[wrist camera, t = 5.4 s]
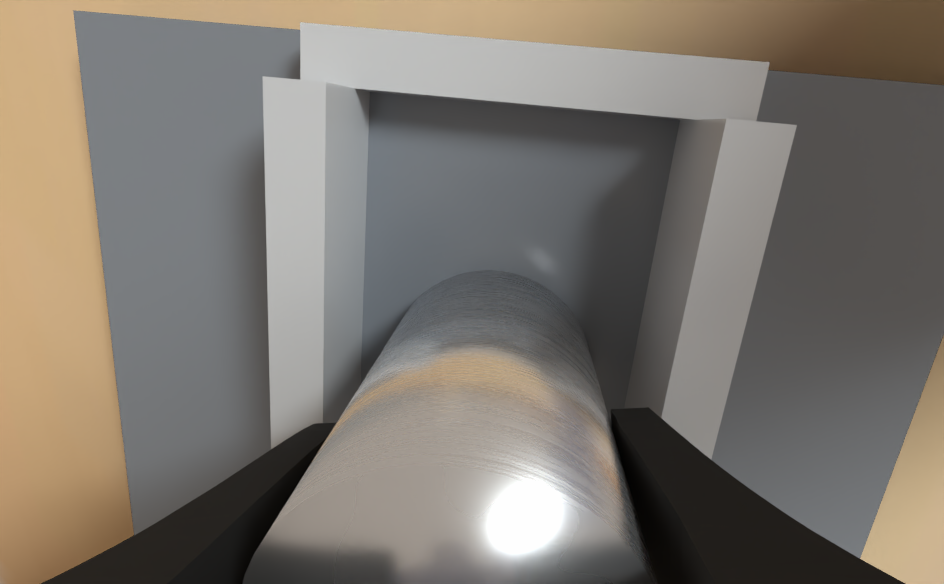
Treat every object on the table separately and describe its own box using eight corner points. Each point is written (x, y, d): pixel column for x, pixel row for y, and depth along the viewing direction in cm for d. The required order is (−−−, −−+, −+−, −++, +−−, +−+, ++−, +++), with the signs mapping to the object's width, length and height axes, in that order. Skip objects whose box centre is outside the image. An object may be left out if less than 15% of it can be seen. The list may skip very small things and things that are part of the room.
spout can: (581, 258, 11) (723, 592, 3) (597, 444, 13) (731, 1027, 4) (375, 282, 12) (58, 616, 4) (410, 458, 13) (226, 996, 5)
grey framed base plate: (980, 96, 11) (1200, 82, 7) (793, 634, 15) (876, 791, 12) (116, 21, 12) (-54, -22, 8) (166, 543, 16) (65, 660, 13)
